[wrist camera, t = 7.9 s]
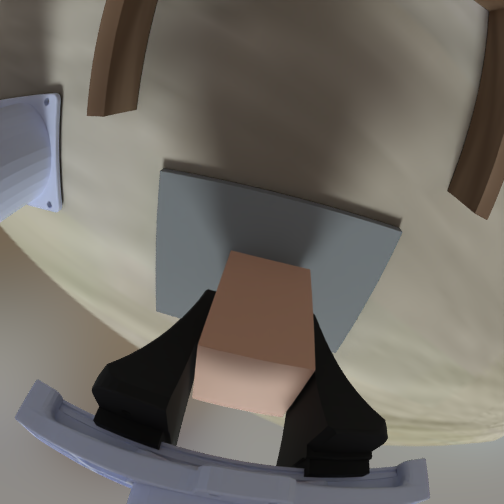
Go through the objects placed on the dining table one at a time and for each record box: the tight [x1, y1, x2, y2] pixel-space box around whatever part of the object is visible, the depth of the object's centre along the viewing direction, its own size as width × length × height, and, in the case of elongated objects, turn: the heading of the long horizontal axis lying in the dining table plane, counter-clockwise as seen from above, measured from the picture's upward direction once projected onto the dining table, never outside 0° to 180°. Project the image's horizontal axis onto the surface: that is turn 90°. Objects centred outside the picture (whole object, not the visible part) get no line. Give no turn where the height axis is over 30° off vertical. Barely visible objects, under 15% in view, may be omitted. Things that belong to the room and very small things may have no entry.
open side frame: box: [87, 0, 504, 220], centre depth 8 cm, size 19×13×3 cm
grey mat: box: [156, 169, 402, 353], centre depth 17 cm, size 13×10×1 cm
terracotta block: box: [193, 251, 315, 417], centre depth 12 cm, size 4×4×6 cm
